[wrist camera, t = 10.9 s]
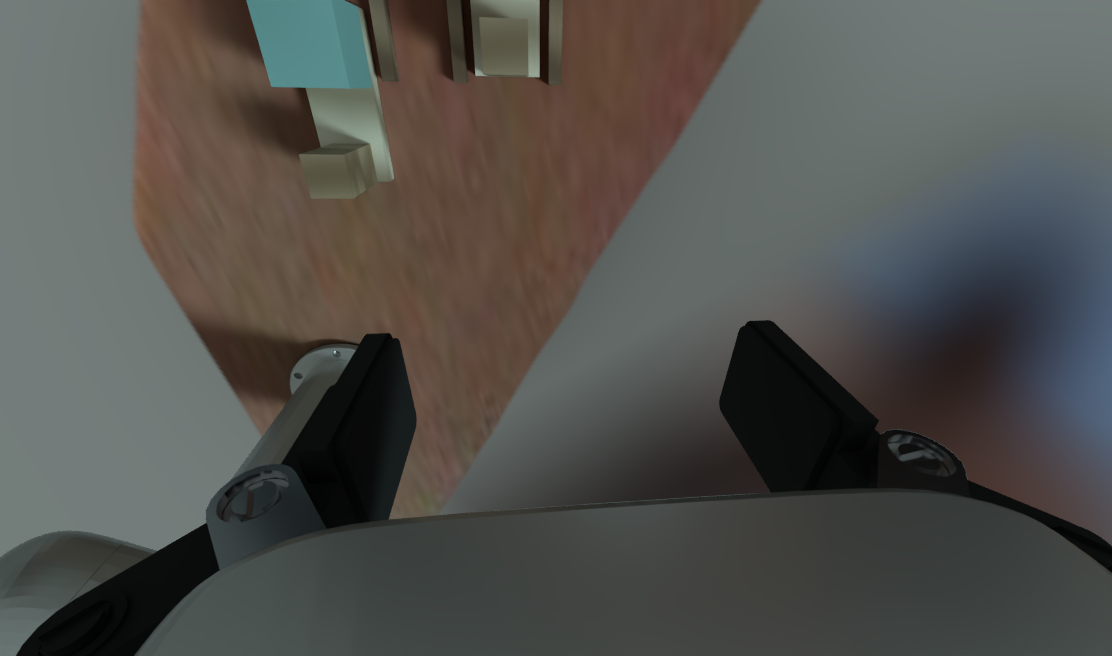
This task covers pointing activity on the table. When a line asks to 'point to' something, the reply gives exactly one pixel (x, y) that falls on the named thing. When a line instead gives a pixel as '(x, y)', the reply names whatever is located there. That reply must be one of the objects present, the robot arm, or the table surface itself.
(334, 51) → the teal block
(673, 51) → the table surface
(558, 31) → the walnut lane rails
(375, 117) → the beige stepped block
